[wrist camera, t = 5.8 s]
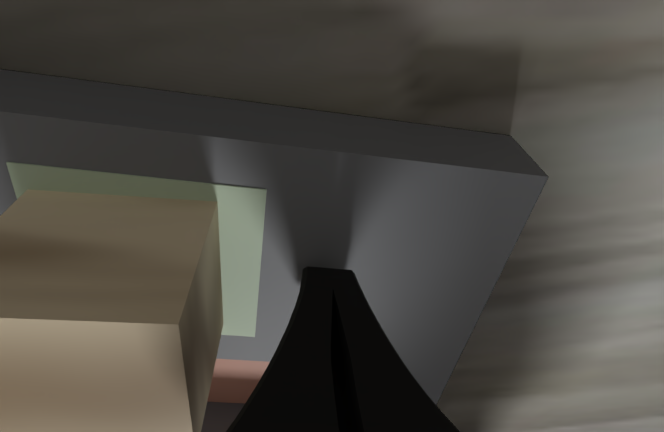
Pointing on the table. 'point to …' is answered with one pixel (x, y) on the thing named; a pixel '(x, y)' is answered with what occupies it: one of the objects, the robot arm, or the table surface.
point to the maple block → (108, 312)
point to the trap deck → (291, 207)
